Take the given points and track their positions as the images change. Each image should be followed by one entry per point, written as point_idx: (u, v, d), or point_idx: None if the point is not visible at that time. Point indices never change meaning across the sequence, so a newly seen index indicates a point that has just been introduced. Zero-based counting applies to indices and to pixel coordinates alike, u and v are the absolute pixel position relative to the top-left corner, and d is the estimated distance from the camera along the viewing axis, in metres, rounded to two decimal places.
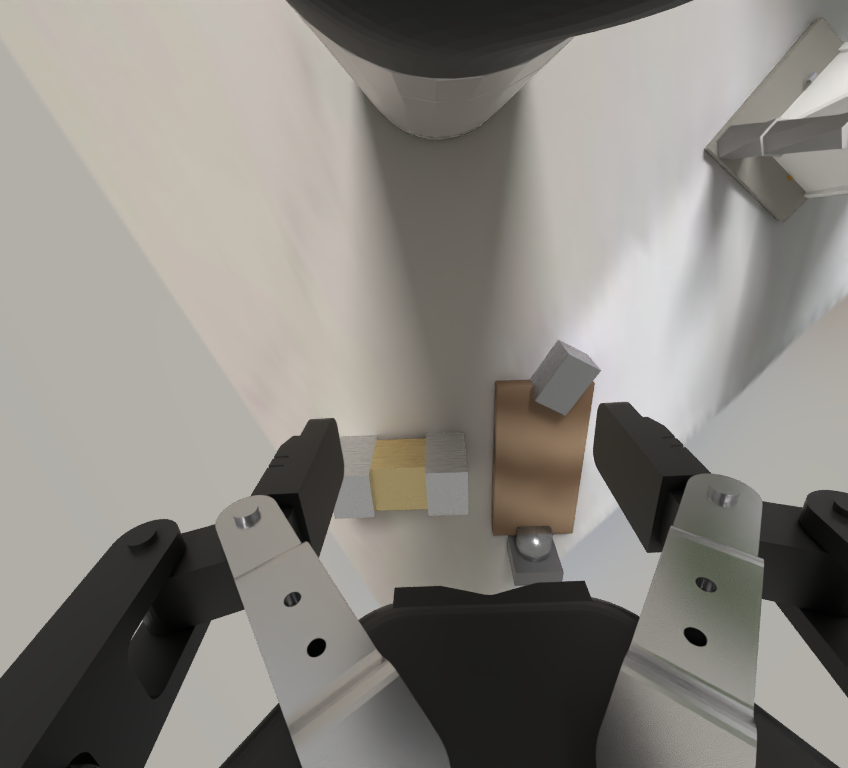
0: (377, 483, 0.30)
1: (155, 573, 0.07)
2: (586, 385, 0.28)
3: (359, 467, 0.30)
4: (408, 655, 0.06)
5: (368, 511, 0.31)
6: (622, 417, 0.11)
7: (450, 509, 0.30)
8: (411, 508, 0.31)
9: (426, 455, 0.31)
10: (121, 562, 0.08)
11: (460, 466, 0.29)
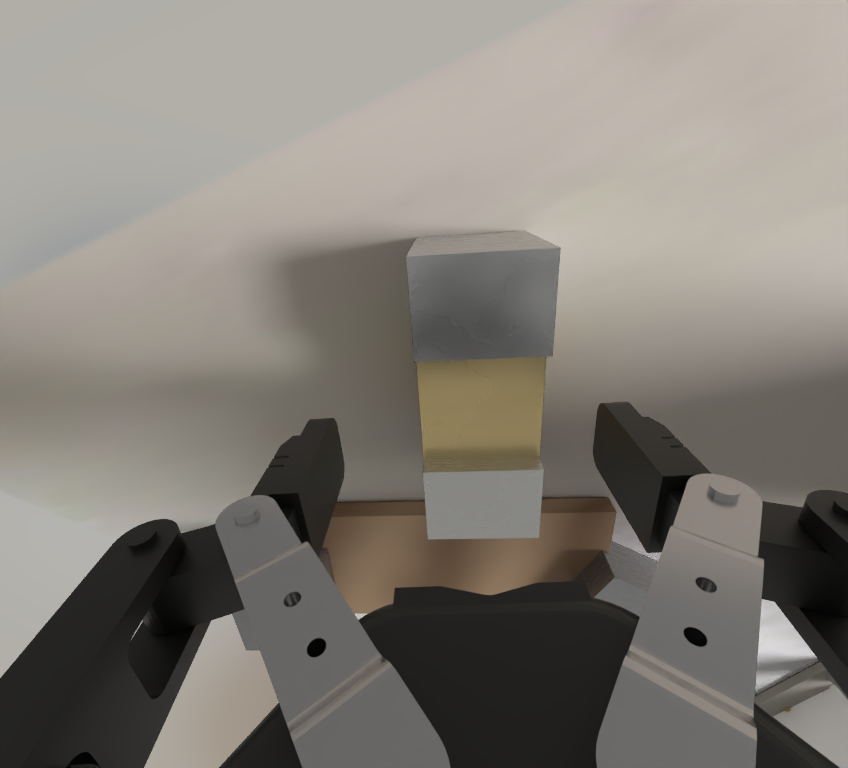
0: (501, 361, 0.13)
1: (155, 573, 0.07)
2: None
3: None
4: (408, 655, 0.06)
5: (434, 348, 0.12)
6: (622, 417, 0.11)
7: (443, 510, 0.14)
8: (424, 429, 0.14)
9: None
10: (121, 562, 0.08)
11: None
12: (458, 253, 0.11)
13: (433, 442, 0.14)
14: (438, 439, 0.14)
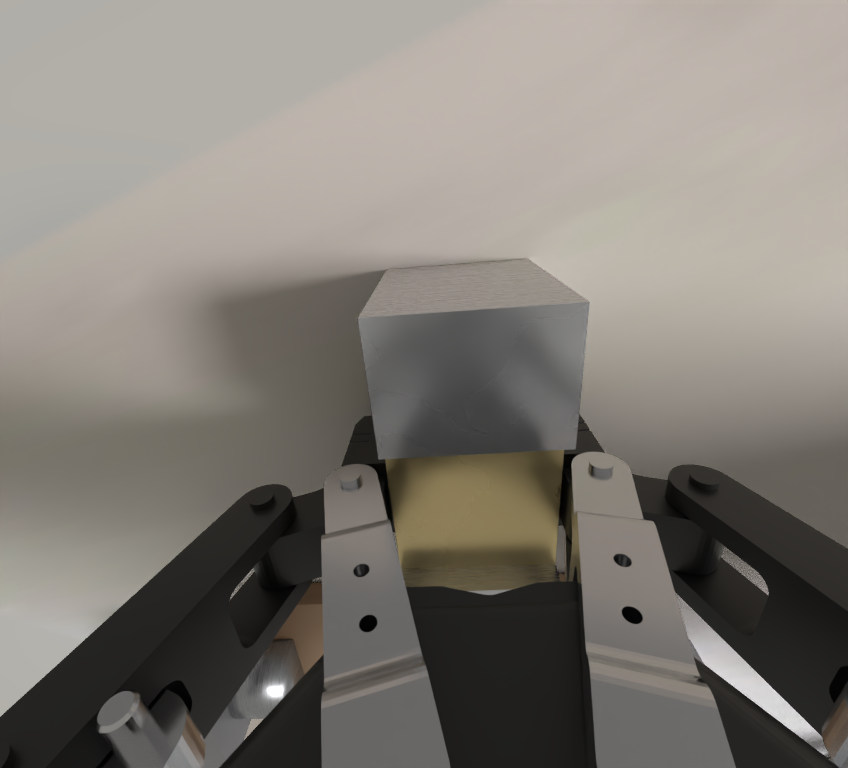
0: None
1: (263, 536, 0.08)
2: None
3: None
4: None
5: (406, 441, 0.08)
6: None
7: None
8: (399, 533, 0.10)
9: None
10: (241, 517, 0.08)
11: None
12: (436, 311, 0.07)
13: (412, 548, 0.10)
14: (419, 545, 0.10)
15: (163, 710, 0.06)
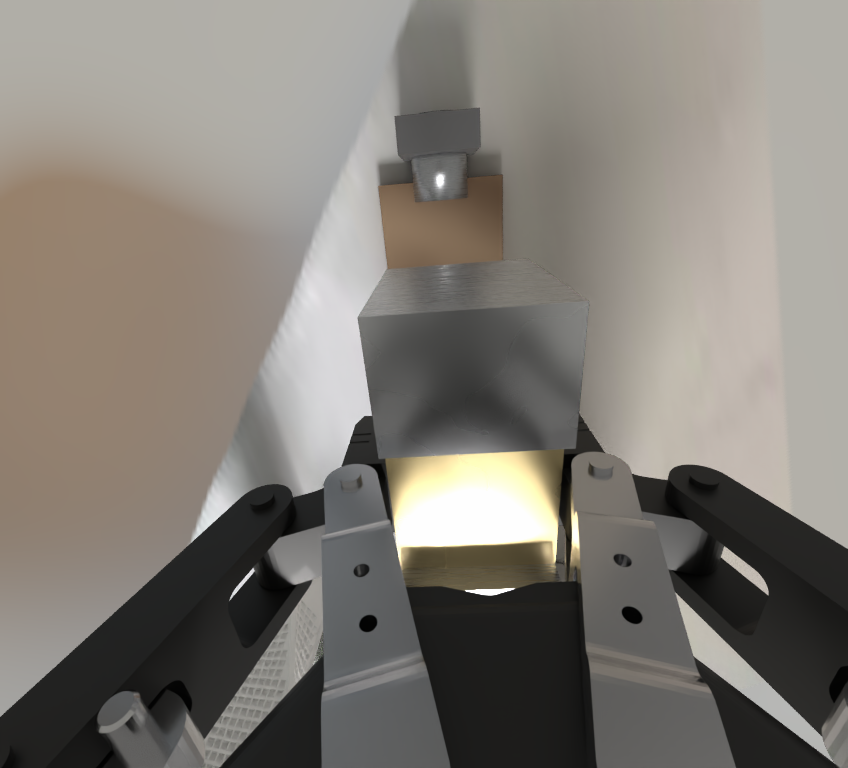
0: None
1: (264, 536, 0.08)
2: None
3: None
4: None
5: (406, 440, 0.08)
6: None
7: None
8: (399, 532, 0.10)
9: None
10: (241, 517, 0.08)
11: None
12: (436, 311, 0.07)
13: (412, 548, 0.10)
14: (419, 544, 0.10)
15: (163, 710, 0.06)
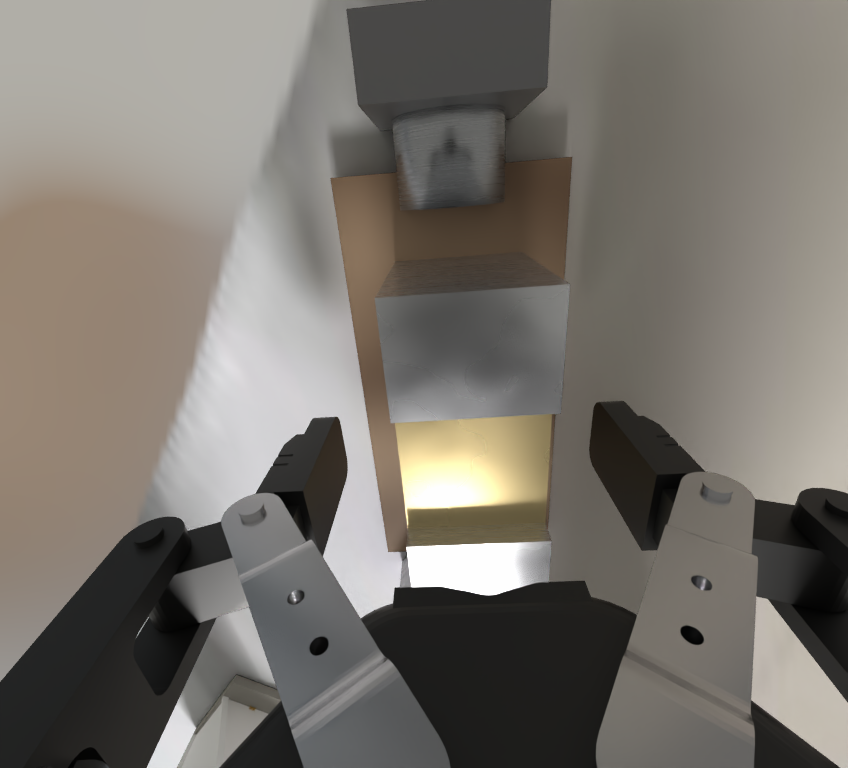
0: (497, 416, 0.10)
1: (161, 570, 0.07)
2: None
3: None
4: (408, 655, 0.06)
5: (414, 406, 0.10)
6: (618, 416, 0.11)
7: None
8: (407, 494, 0.12)
9: None
10: (128, 559, 0.08)
11: None
12: (441, 293, 0.09)
13: (418, 508, 0.12)
14: (424, 505, 0.12)
15: None
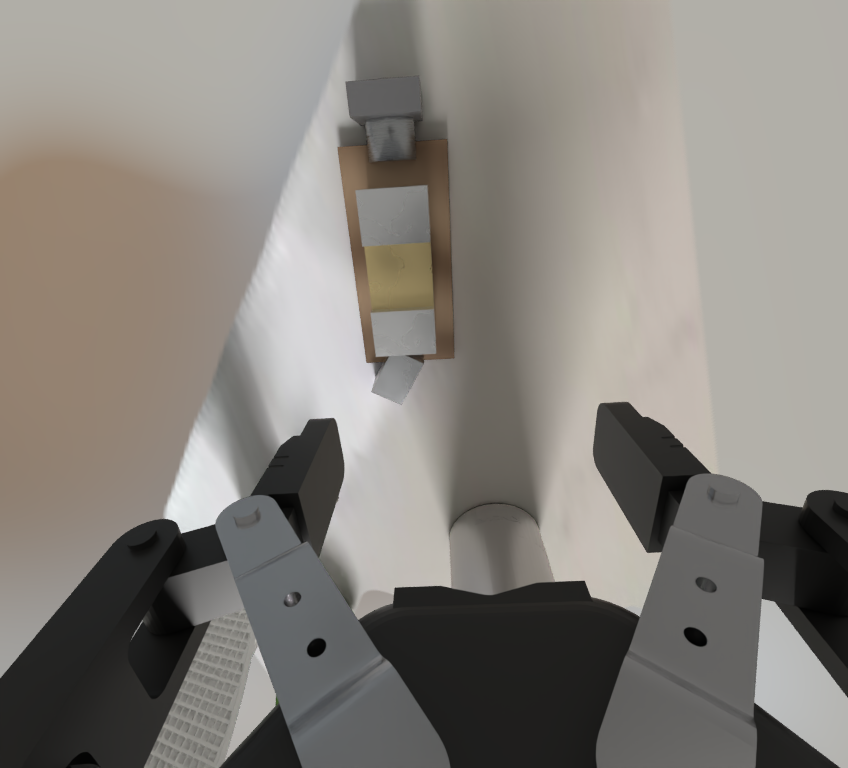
0: (408, 249, 0.25)
1: (155, 573, 0.07)
2: (380, 378, 0.32)
3: (429, 226, 0.24)
4: (408, 655, 0.06)
5: (371, 238, 0.24)
6: (622, 417, 0.11)
7: (382, 337, 0.27)
8: (371, 290, 0.26)
9: None
10: (121, 562, 0.08)
11: None
12: (380, 188, 0.23)
13: (376, 298, 0.26)
14: (379, 296, 0.26)
15: None
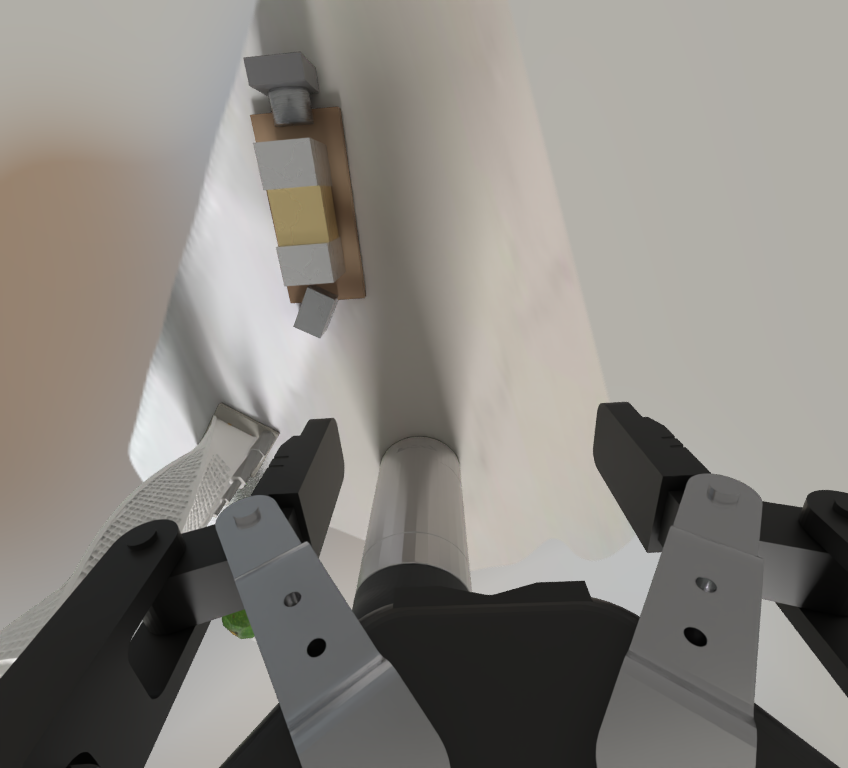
0: (302, 193, 0.31)
1: (155, 573, 0.07)
2: (299, 314, 0.37)
3: (318, 173, 0.30)
4: (408, 655, 0.06)
5: (270, 183, 0.30)
6: (622, 417, 0.11)
7: (288, 268, 0.32)
8: (276, 228, 0.32)
9: (333, 241, 0.33)
10: (121, 562, 0.08)
11: (334, 274, 0.33)
12: (272, 141, 0.29)
13: (281, 236, 0.32)
14: (283, 234, 0.32)
15: None
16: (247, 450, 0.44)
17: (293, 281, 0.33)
